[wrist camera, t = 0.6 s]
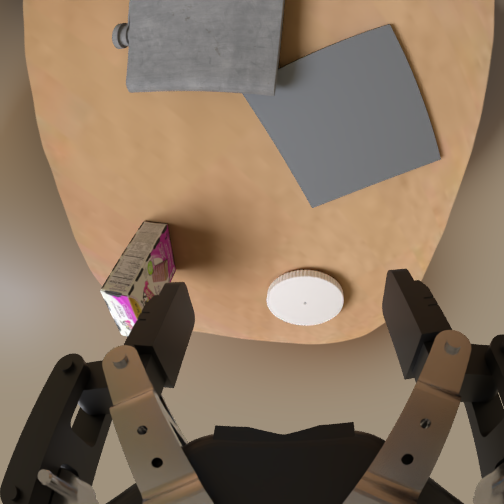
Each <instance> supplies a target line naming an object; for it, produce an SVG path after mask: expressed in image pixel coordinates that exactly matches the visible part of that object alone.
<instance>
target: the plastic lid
mask: <svg viewBox="0 0 504 504" xmlns="http://www.w3.org/2000/svg"><path fill="white" fill-rule="evenodd" d="M343 303H344V297H343V290H342V287H341V285H339V283H337V280H336V281H335V279H333V277H330V275H327V274H324V273H321V272H318V271H314V270H312V271H310V270H301V271H299V270H297V271H294V272H292V271H291V272H290V273H289V272H287V274H286V273H285V274H284V275H281V276H279V277H278V278H276V280H274V282H272V284H271V285H270V286H269V289H268V294H267V304H268V305H267V306H268V308H269V310H271V312H272V313H273V314H274V315H275V316H276V317H278V318H279V319H281V320H283V321H286V322H289V323H292V324H295V325H296V324H297V325H304V326H305V325H307V326H309V325H315V324H316V325H317V324H321V323H324V322H326V321H329V320H331V319H332V318H334V317H335V316H336V315H338V313H339V311H341V309H342V307H343Z"/></svg>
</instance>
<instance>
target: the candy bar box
mask: <svg viewBox="0 0 504 504" xmlns="http://www.w3.org/2000/svg"><path fill="white" fill-rule="evenodd" d="M175 271H176V268H175V264H174V258H173V253H172V248H171V242H170V236H169V230H168V224H165V223H154V222H145V221H144V222H143V223H142V225H141V226H140V228H139V229H138V231H137V232H136V234H135V235H134V237H133V238H132V240H131V241H130V243H129V244H128V246H127V247H126V249H125V251H124V252H123V254H122V255H121V257H120V258H119V260H118V262H117V263H116V265H115V267H114V268H113V270H112V272H111V273H110V275H109V277H108V278H107V280H106V282H105V283H104V285H103V287H102V288H101V290H100V291H101V293H102V296H103V298H104V300H105V302H106V304H107V306H108V309H109V310H110V313H111V315H112V317H113V319H114V321H115V322H116V325H117V326H118V329H119V331H120V333H121V335H123V336H127V337H128V336H129V334H130V332H131V330H132V328H133V326H134V324H135V322H136V321H137V320H138V317H139V315H140V313H141V311H142V309H143V307H144V306H145V304H146V302H148V301H149V300H150V299H151V298H152V297H153V296H154V295H159V293H160V292H161V290H162V288H163V286H164V284H165V283H170V282H171V280H172V278H173V275H174V273H175Z"/></svg>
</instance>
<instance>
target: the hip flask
mask: <svg viewBox="0 0 504 504" xmlns="http://www.w3.org/2000/svg"><path fill="white" fill-rule="evenodd" d="M284 5H285V0H130V2H129V15H128V24H127V23H122V24H118V25H116V26H115V28H114V30H113V34H112V41H113V44H114V46H115V47H116V48H117V49H122V48H126V47H127V46H129V52H128V66H127V77H126V86H127V89H128V91H129V92H131V93H133V92H152V91H213V92H233V93H247V94H258V95H268V96H275V90H276V82H277V74H278V65H279V55H280V46H281V36H282V26H283V16H284Z"/></svg>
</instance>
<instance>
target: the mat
mask: <svg viewBox="0 0 504 504" xmlns="http://www.w3.org/2000/svg"><path fill="white" fill-rule="evenodd" d="M242 94H243V95H244V97H245V98H246V100H247V101H248V103H249V104H250V106H251V107H252V109H253V111H254V112H255V114H256V115H257V117H258V118H259V120H260V121H261V123H262V125H263V126H264V128H265V129H266V131H267V132H268V134H269V136H270V137H271V139H272V140H273V142H274V144H275V145H276V147H277V149H278V150H279V152H280V153H281V155H282V157H283V158H284V160H285V162H286V163H287V165H288V167H289V168H290V170H291V172H292V174H293V175H294V177H295V179H296V180H297V182H298V184H299V186H300V187H301V189H302V191H303V193H304V194H305V196H306V198H307V200H308V201H309V203H310V205H311V207H312V208H314V207H316V206H319V205H321V204H324V203H327V202H329V201H332V200H334V199H337V198H339V197H342V196H345V195H347V194H350V193H352V192H355V191H358V190H360V189H363V188H365V187H368V186H371V185H373V184H376V183H379V182H381V181H384V180H386V179H389V178H392V177H394V176H397V175H400V174H402V173H405V172H408V171H410V170H413V169H416V168H419V167H421V166H424V165H427V164H429V163H432V162H435V161H438V160H440V159H441V158H440V154H439V150H438V146H437V143H436V139H435V136H434V132H433V129H432V126H431V122H430V119H429V116H428V113H427V110H426V107H425V104H424V102H423V99H422V96H421V93H420V91H419V88H418V85H417V83H416V80H415V78H414V75H413V73H412V71H411V68H410V66H409V64H408V61H407V59H406V57H405V55H404V52H403V50H402V48H401V46H400V44H399V42H398V40H397V38H396V36H395V34H394V32H393V30H392V28H391V26H390V24H388V25H385V26H382V27H379V28H376V29H373V30H370V31H367V32H364V33H361V34H358V35H356V36H353V37H350V38H348V39H345V40H343V41H340V42H337V43H335V44H333V45H330V46H328V47H325V48H323V49H321V50H318V51H316V52H314V53H311V54H309V55H307V56H305V57H303V58H300V59H298V60H296V61H294V62H292V63H290V64H288V65H286V66H284V67H282V68H280V69H278V74H277V82H276V90H275V96H268V95H258V94H247V93H242Z"/></svg>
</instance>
